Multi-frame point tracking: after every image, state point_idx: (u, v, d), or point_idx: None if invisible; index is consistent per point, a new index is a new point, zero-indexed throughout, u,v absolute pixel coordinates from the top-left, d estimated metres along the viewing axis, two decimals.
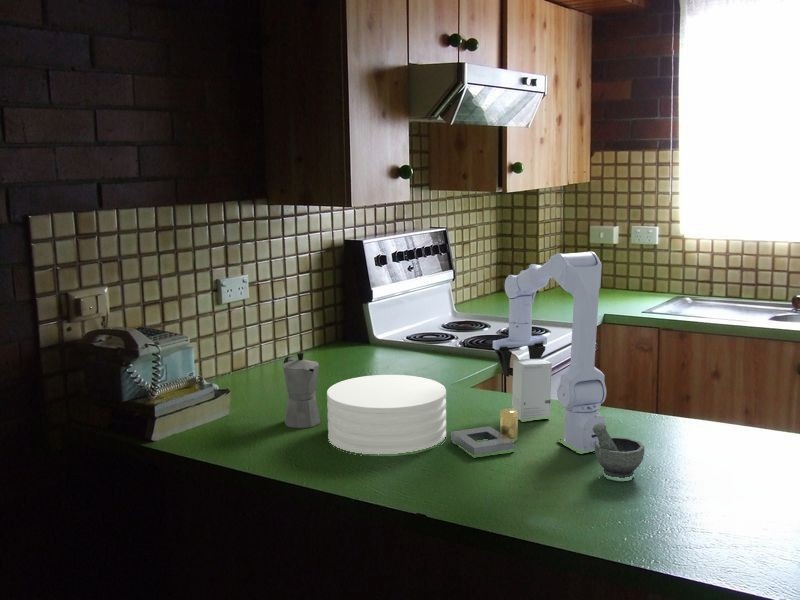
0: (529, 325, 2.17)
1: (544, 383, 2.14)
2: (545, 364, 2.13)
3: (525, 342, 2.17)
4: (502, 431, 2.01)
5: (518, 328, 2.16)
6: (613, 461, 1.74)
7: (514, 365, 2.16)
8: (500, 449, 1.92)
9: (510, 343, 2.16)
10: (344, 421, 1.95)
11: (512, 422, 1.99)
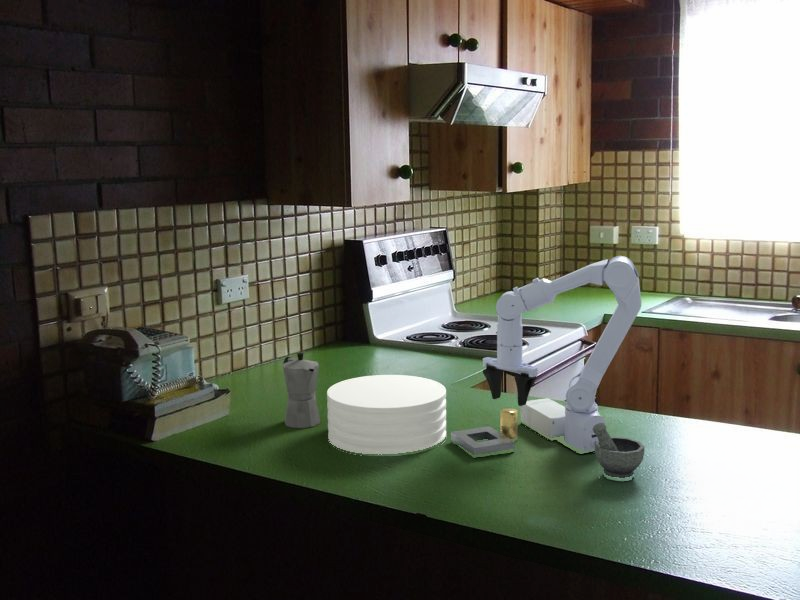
0: (506, 349, 1.95)
1: None
2: None
3: (500, 366, 1.97)
4: (502, 431, 2.01)
5: (497, 349, 1.98)
6: (613, 461, 1.74)
7: (547, 421, 2.00)
8: (500, 449, 1.92)
9: (491, 363, 2.00)
10: (344, 421, 1.95)
11: (512, 422, 1.99)
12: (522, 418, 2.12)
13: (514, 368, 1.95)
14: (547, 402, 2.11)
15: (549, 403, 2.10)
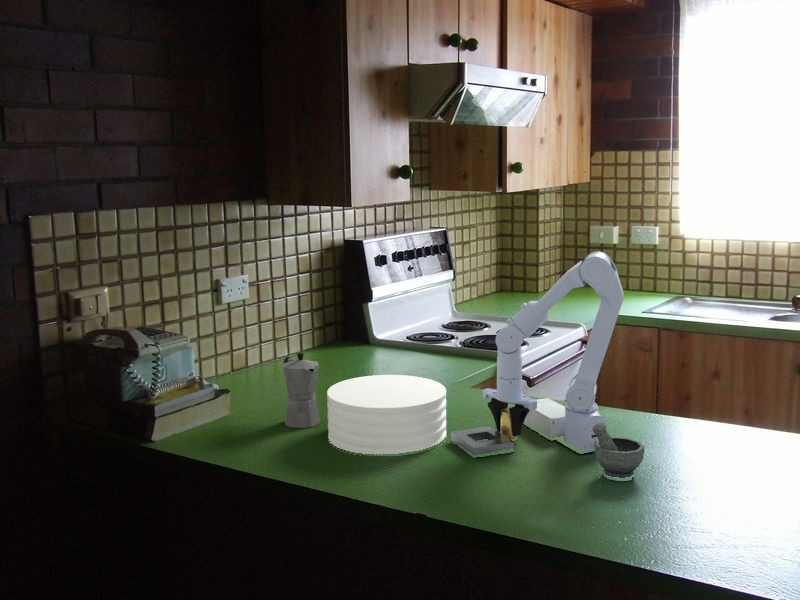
0: (506, 382, 1.97)
1: None
2: None
3: (500, 398, 1.98)
4: (502, 431, 2.01)
5: (497, 381, 1.99)
6: (613, 461, 1.74)
7: (547, 421, 2.00)
8: (500, 449, 1.92)
9: (491, 395, 2.01)
10: (344, 421, 1.95)
11: None
12: None
13: (514, 401, 1.96)
14: (547, 402, 2.11)
15: (549, 403, 2.10)
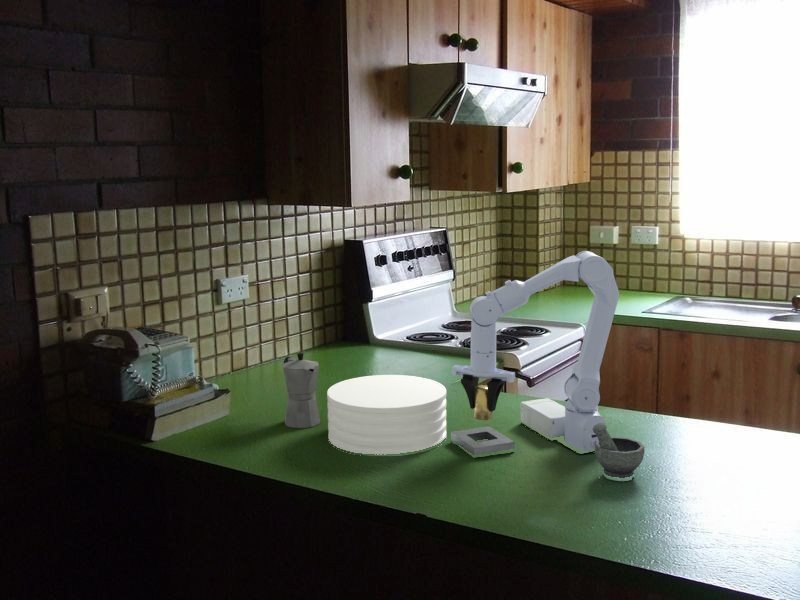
0: (483, 355, 1.91)
1: None
2: None
3: (477, 373, 1.92)
4: (477, 409, 1.95)
5: (472, 356, 1.93)
6: (613, 461, 1.74)
7: (547, 421, 2.00)
8: (500, 449, 1.92)
9: (464, 371, 1.94)
10: (344, 421, 1.95)
11: (488, 398, 1.94)
12: (522, 418, 2.12)
13: (492, 374, 1.91)
14: (547, 402, 2.11)
15: (549, 403, 2.10)
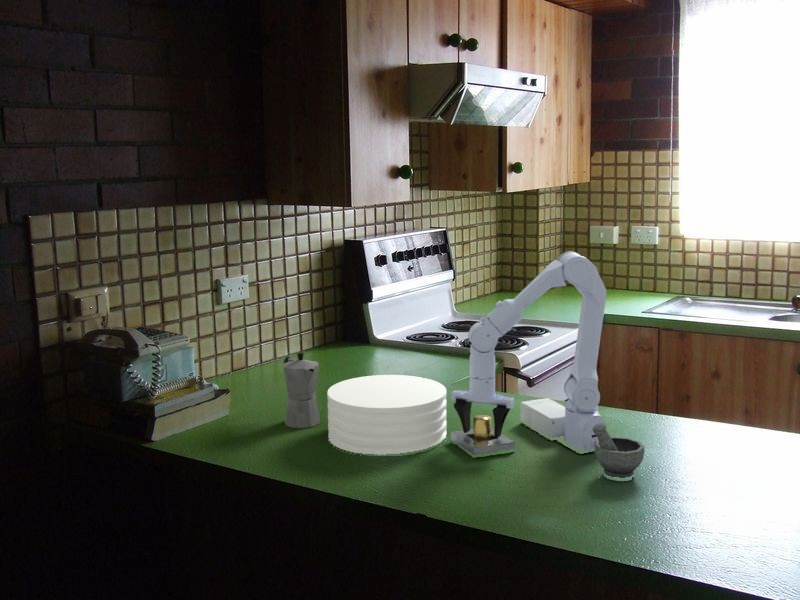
0: (482, 381, 1.92)
1: None
2: None
3: (476, 399, 1.93)
4: (476, 439, 1.95)
5: (471, 382, 1.93)
6: (613, 461, 1.74)
7: (547, 421, 2.00)
8: (500, 449, 1.92)
9: (463, 397, 1.95)
10: (344, 421, 1.95)
11: (487, 428, 1.95)
12: (522, 418, 2.12)
13: (491, 400, 1.92)
14: (547, 402, 2.11)
15: (549, 403, 2.10)
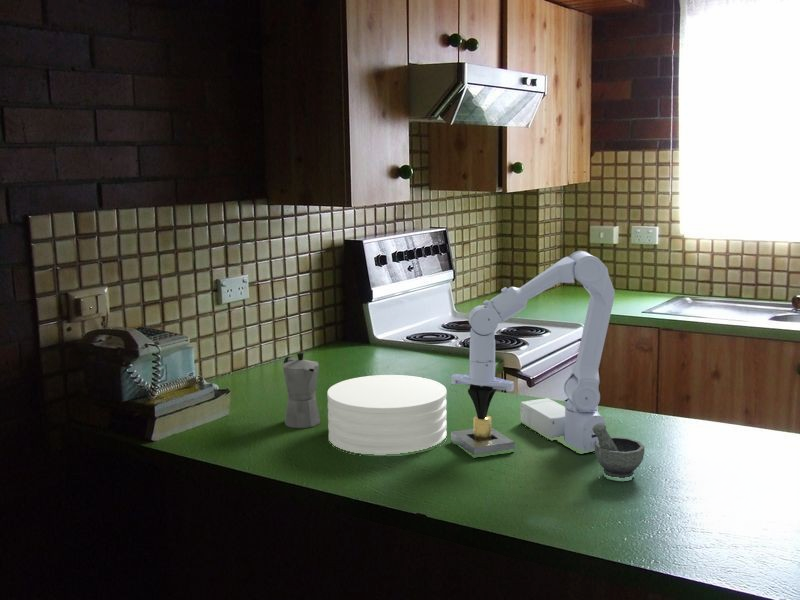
0: (482, 365, 1.91)
1: None
2: None
3: (476, 383, 1.92)
4: (476, 439, 1.96)
5: (471, 365, 1.93)
6: (613, 461, 1.74)
7: (547, 421, 2.00)
8: (500, 449, 1.92)
9: (463, 380, 1.95)
10: (344, 421, 1.95)
11: (487, 428, 1.95)
12: (522, 418, 2.12)
13: (491, 384, 1.91)
14: (547, 402, 2.11)
15: (549, 403, 2.10)
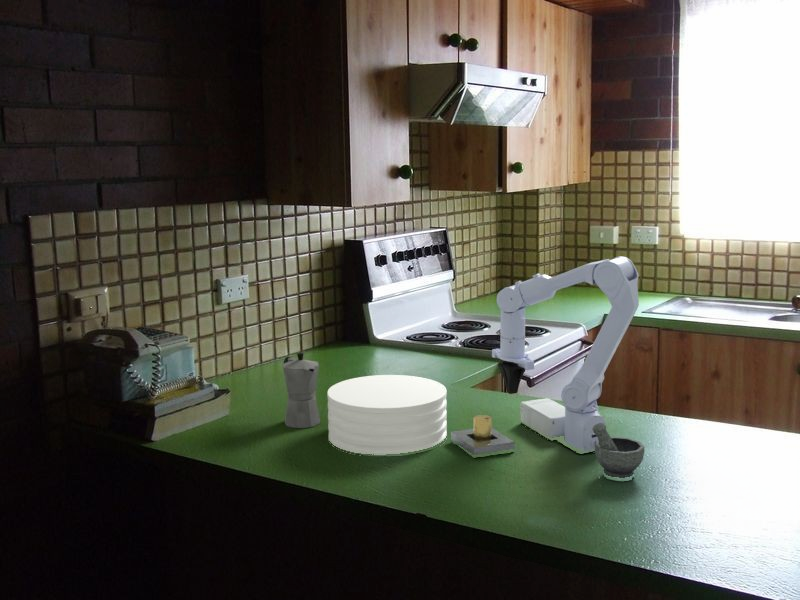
0: (506, 341, 2.00)
1: None
2: None
3: (501, 357, 2.02)
4: (476, 439, 1.95)
5: (500, 341, 2.03)
6: (613, 461, 1.74)
7: (547, 421, 2.00)
8: (500, 449, 1.92)
9: (497, 354, 2.06)
10: (345, 421, 1.95)
11: (487, 428, 1.95)
12: (522, 418, 2.12)
13: (512, 360, 2.00)
14: (547, 402, 2.11)
15: (549, 403, 2.10)
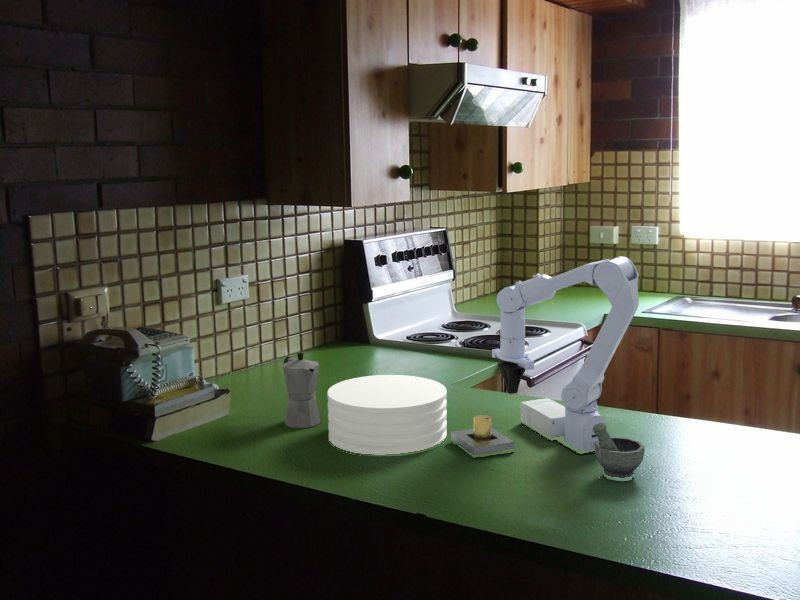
0: (506, 341, 2.00)
1: None
2: None
3: (501, 357, 2.02)
4: (476, 439, 1.95)
5: (500, 341, 2.03)
6: (613, 461, 1.74)
7: (547, 421, 2.00)
8: (500, 449, 1.92)
9: (497, 354, 2.06)
10: (345, 421, 1.95)
11: (487, 428, 1.95)
12: (522, 418, 2.12)
13: (512, 360, 2.00)
14: (547, 402, 2.11)
15: (549, 403, 2.10)
